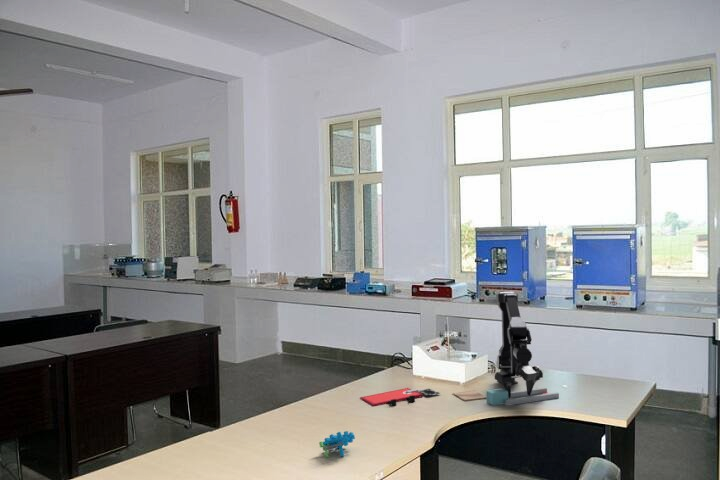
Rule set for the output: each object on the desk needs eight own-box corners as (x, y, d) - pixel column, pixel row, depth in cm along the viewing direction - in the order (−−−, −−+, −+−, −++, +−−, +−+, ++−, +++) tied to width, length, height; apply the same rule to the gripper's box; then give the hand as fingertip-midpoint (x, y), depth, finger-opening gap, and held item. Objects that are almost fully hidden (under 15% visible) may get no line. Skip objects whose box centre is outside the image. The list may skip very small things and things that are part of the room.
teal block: (486, 402, 212) (486, 390, 212) (502, 399, 214) (502, 388, 214) (492, 405, 208) (492, 393, 208) (508, 402, 210) (508, 391, 210)
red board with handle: (443, 396, 220) (422, 388, 234) (443, 389, 220) (422, 381, 234) (378, 410, 207) (360, 400, 220) (377, 403, 207) (360, 393, 220)
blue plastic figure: (353, 440, 172) (354, 426, 165) (358, 458, 168) (359, 445, 161) (319, 448, 170) (318, 434, 163) (323, 467, 166) (322, 453, 159)
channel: (494, 399, 215) (494, 394, 215) (545, 391, 223) (545, 387, 223) (506, 405, 208) (506, 400, 207) (558, 397, 215) (558, 393, 215)
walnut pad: (452, 394, 223) (452, 393, 223) (474, 391, 226) (474, 390, 226) (464, 401, 213) (464, 400, 213) (487, 398, 217) (487, 397, 217)
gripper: (510, 364, 203) (510, 405, 203) (551, 359, 209) (552, 399, 210) (493, 357, 214) (494, 397, 214) (533, 353, 220) (534, 391, 220)
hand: (519, 396), depth 214 cm, fingers open, 9 cm apart
